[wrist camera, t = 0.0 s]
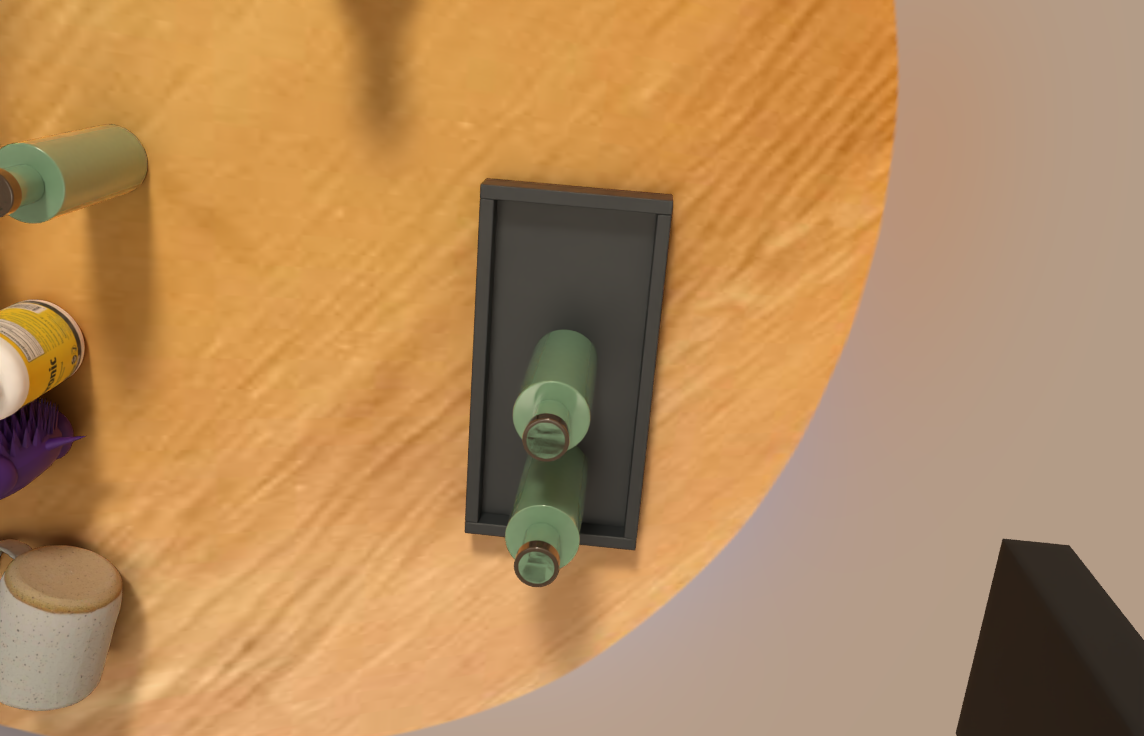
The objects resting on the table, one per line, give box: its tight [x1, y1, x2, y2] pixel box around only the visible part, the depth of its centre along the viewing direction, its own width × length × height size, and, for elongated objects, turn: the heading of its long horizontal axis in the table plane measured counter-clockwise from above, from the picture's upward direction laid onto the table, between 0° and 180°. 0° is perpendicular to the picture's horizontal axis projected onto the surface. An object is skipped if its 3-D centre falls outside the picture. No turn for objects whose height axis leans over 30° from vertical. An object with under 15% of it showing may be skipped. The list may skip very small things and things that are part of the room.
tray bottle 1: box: [513, 330, 598, 462], centre depth 56 cm, size 4×4×12 cm
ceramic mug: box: [0, 539, 122, 711], centre depth 66 cm, size 11×8×8 cm
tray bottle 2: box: [505, 446, 589, 587], centre depth 58 cm, size 4×4×12 cm
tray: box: [465, 178, 673, 550], centre depth 61 cm, size 22×11×2 cm, turn 176°
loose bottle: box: [0, 124, 148, 223], centre depth 54 cm, size 4×4×12 cm
